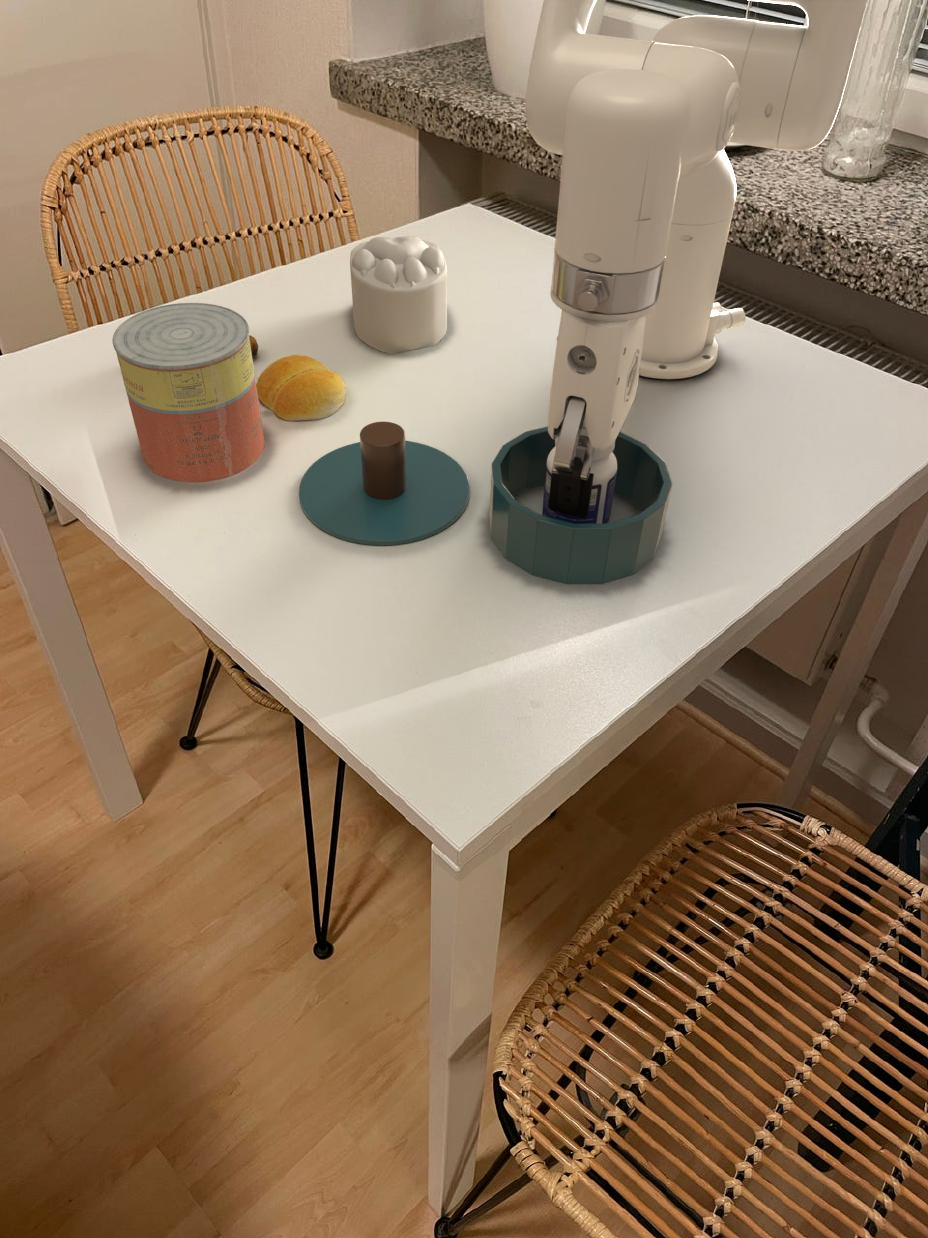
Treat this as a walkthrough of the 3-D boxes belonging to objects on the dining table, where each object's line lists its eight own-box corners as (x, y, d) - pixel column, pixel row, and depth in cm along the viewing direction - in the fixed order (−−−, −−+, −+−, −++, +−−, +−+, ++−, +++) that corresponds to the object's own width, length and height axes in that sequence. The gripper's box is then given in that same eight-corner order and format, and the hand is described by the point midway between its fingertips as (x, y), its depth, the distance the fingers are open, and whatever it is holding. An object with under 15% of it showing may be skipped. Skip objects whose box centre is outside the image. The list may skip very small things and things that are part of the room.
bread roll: (295, 435, 91) (291, 399, 88) (246, 397, 96) (240, 361, 93) (365, 406, 95) (363, 370, 92) (314, 370, 100) (310, 335, 97)
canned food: (187, 409, 94) (163, 293, 86) (288, 434, 91) (273, 316, 83) (117, 470, 87) (83, 349, 78) (225, 499, 84) (202, 377, 75)
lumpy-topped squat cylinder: (439, 298, 113) (439, 224, 107) (453, 352, 103) (454, 275, 97) (351, 302, 111) (346, 227, 105) (357, 357, 102) (352, 279, 96)
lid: (430, 435, 92) (429, 373, 87) (497, 524, 82) (501, 461, 77) (279, 470, 87) (270, 407, 83) (332, 569, 77) (325, 504, 73)
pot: (603, 468, 88) (612, 410, 84) (691, 561, 79) (706, 501, 75) (462, 505, 84) (463, 445, 80) (538, 608, 75) (544, 547, 70)
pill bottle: (574, 502, 84) (586, 403, 77) (621, 534, 81) (638, 434, 74) (526, 527, 82) (534, 427, 75) (573, 561, 78) (586, 460, 72)
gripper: (630, 343, 59) (596, 564, 72) (684, 238, 71) (647, 444, 83) (515, 321, 61) (502, 540, 73) (586, 222, 72) (564, 426, 85)
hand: (579, 487), depth 78 cm, fingers closed on pill bottle, 5 cm apart
